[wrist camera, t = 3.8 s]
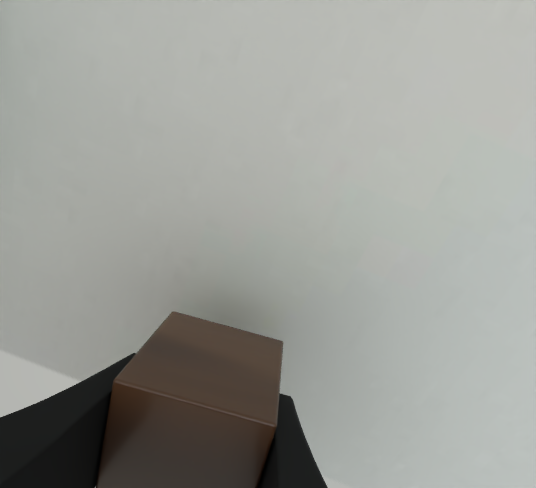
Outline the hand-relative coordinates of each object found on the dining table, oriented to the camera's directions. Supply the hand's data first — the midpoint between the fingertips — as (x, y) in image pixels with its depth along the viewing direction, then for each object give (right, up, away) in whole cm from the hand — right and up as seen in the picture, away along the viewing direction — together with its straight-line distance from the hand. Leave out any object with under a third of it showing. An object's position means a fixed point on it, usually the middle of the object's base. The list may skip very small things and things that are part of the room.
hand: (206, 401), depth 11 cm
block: (0, 0, +1) cm, 1 cm away
